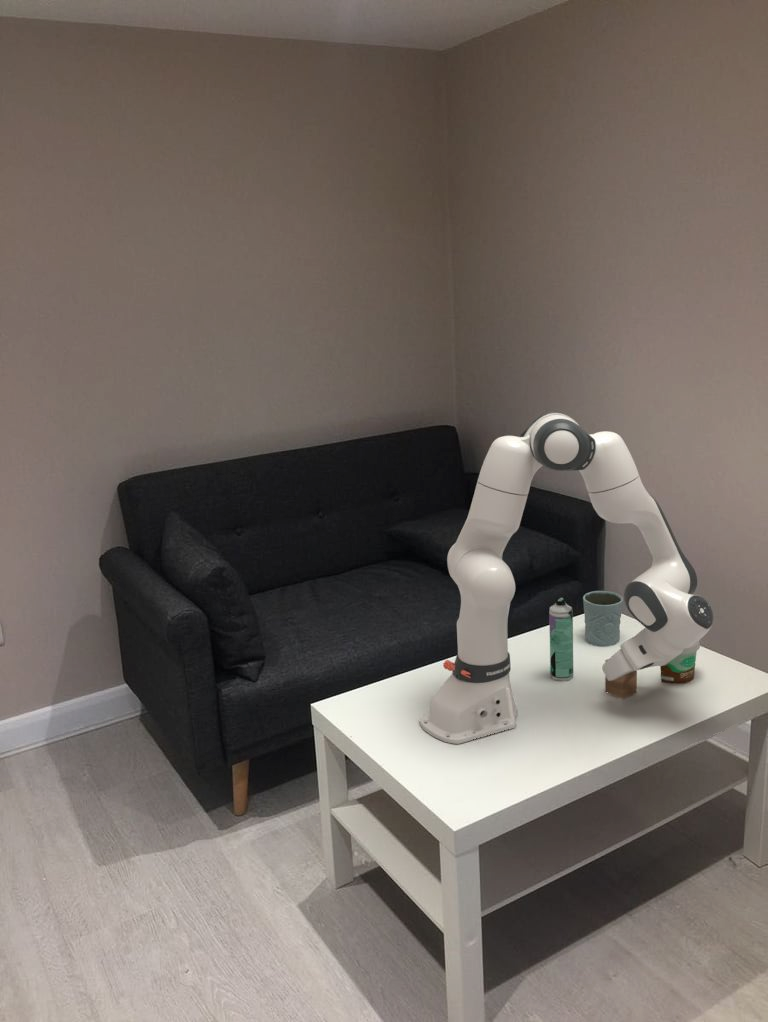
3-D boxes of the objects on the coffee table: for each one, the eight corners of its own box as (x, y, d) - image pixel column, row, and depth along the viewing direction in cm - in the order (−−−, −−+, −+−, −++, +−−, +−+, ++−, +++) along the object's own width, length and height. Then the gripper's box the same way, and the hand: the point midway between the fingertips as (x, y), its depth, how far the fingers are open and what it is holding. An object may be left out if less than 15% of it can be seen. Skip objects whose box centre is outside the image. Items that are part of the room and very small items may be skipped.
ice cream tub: (680, 691, 211) (681, 651, 208) (657, 683, 215) (658, 644, 213) (709, 673, 218) (710, 634, 216) (686, 666, 223) (687, 628, 220)
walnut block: (621, 699, 209) (621, 667, 207) (605, 691, 213) (605, 660, 211) (636, 692, 212) (636, 660, 210) (620, 685, 216) (620, 654, 214)
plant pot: (592, 630, 248) (592, 588, 245) (628, 636, 242) (628, 594, 239) (577, 643, 240) (576, 600, 237) (614, 651, 234) (614, 607, 231)
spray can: (573, 671, 224) (572, 594, 219) (573, 681, 219) (572, 603, 214) (550, 670, 225) (549, 594, 220) (550, 680, 220) (548, 603, 215)
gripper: (680, 619, 207) (645, 646, 217) (618, 644, 196) (584, 671, 206) (696, 643, 204) (660, 669, 215) (634, 670, 193) (599, 696, 204)
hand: (623, 671), depth 210 cm, fingers open, 8 cm apart
